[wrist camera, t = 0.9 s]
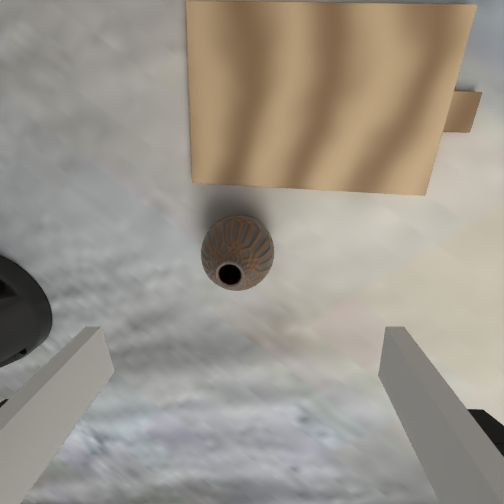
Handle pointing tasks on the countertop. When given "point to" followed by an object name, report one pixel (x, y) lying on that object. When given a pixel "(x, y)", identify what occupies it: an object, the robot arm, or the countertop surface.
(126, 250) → the countertop surface
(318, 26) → the board
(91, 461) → the countertop surface
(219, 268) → the vase
